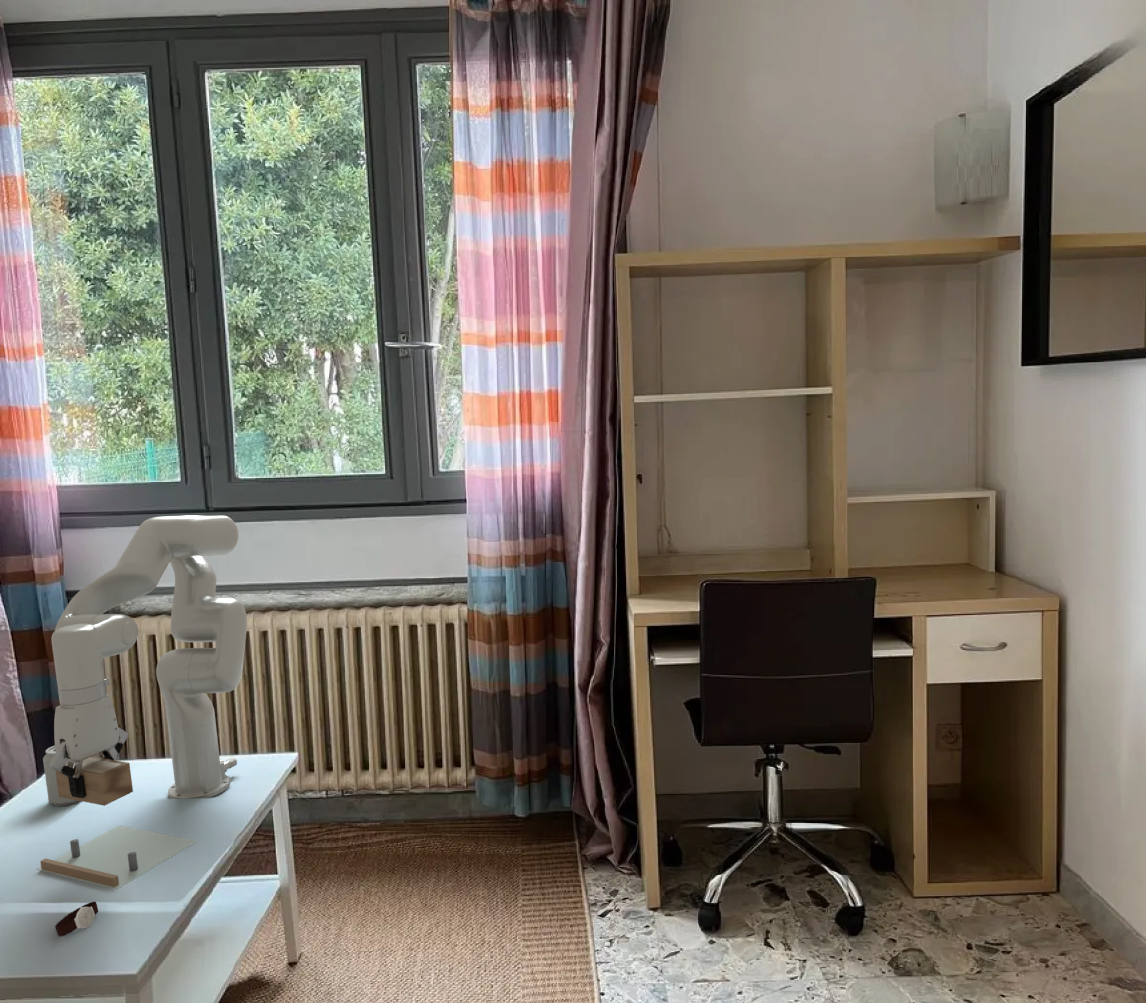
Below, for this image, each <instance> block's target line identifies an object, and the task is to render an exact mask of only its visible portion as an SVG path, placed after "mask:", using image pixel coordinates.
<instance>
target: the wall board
mask: <svg viewBox="0 0 1146 1003" xmlns="http://www.w3.org/2000/svg"><path fill="white" fill-rule="evenodd" d="M197 842H198V840H193V839H189V838H188V839H187V838H183V837H179V836H178V837H177V836H172V835H169V834H164V833H159V832H154V831H149V830H143V829H140V828H135V827H130V826H125V825H117V826H116V827H114V828H112V829H110V830H108V831H106V832H104V833H102V834H101V835H99V836H97V837H95V838H93V839H91V840H89V841H87V842H85V843H83V844H82V845H80V841H79V839H78V838H75V839H72V840H70V841H69V844H70V851H68V852H66V853H65V854H63V855H61V856H58V857H57V858H55V859H51V858H50V859H49V858H43V859H41V860H40V867H38V868H36V871H40V872H45V873H48V874H53V875H58V876H61V877H64V878H65V877H66V878H70V879H74V880H78V881H82V882H86V883H89V884H94V885H98V886H102V887H106V888H111V889H114V890H119V889H120V888H121V887H123V886H124V885H127V884H128V883H130V882H133V881H134V880H135V879H137V878H138V877H140V876H142V875H143V874H145V873H147V872H148V871H150V870H151V869H155V867H156V866H158V865H160V864H161V863H163V862H165V861H167V860H168V859H170V858H172V857H174V856H175V855H177V854H179V853H180V852H182V851H184V850H185V849H187V848H189V847H190V846H192V845H194V844H196V843H197Z"/></svg>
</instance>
